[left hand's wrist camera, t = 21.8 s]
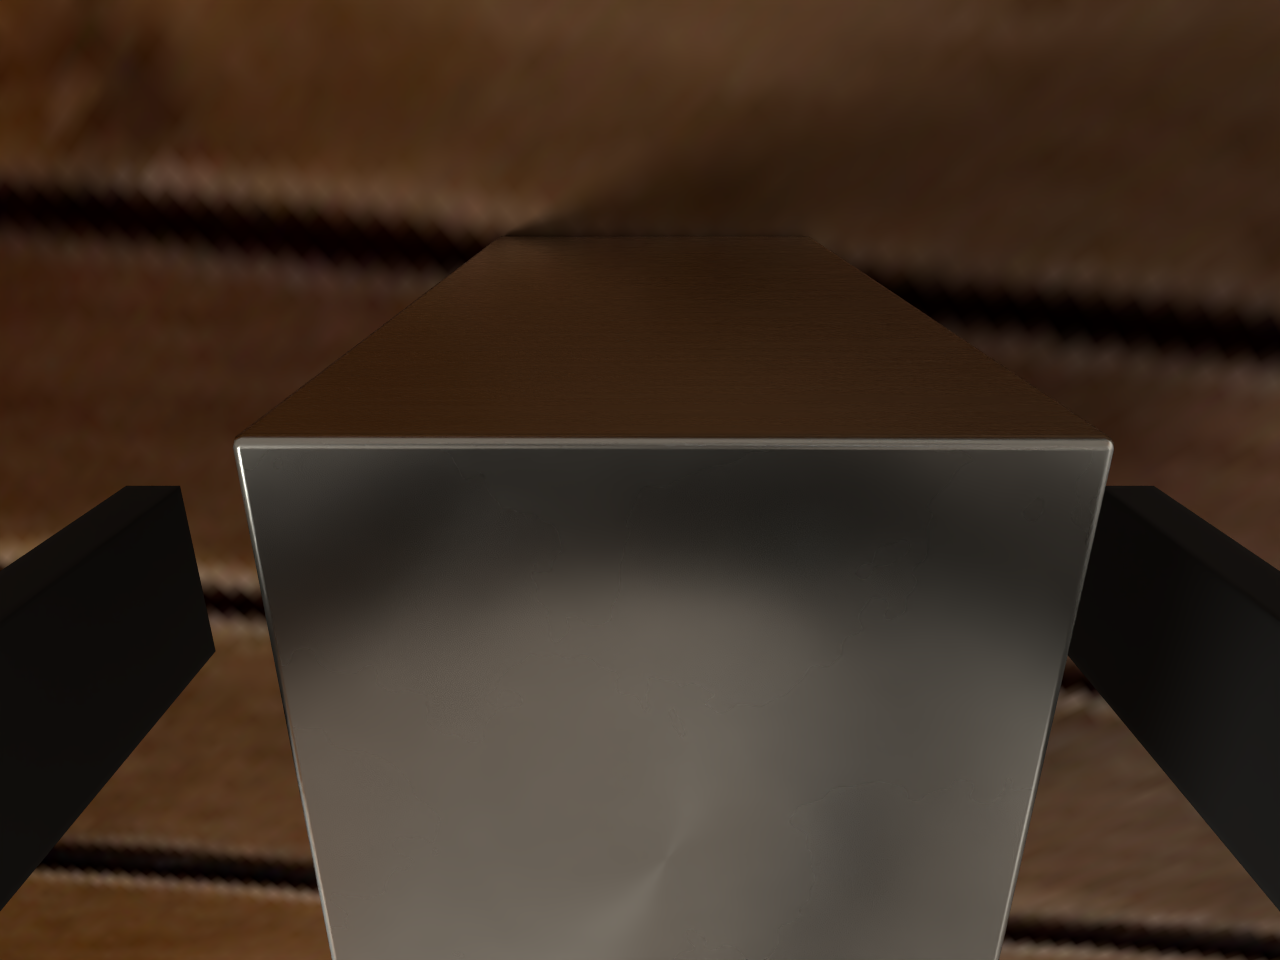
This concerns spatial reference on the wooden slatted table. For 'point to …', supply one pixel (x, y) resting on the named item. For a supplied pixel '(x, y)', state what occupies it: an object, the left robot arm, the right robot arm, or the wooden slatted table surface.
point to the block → (668, 610)
